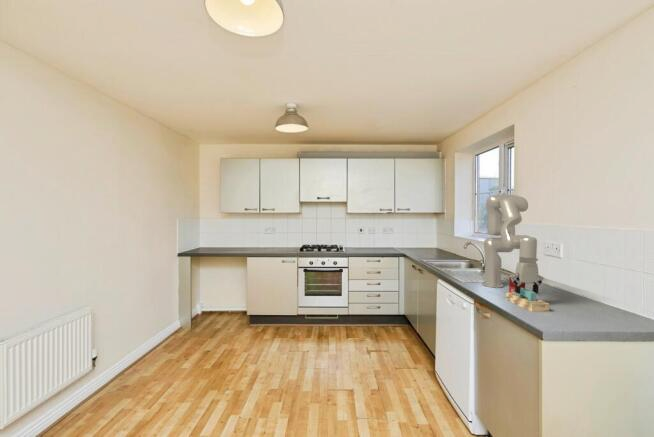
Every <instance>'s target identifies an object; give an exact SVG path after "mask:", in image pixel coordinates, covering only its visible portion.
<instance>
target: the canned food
mask: <svg viewBox="0 0 654 437" xmlns="http://www.w3.org/2000/svg"><path fill="white" fill-rule="evenodd" d="M514 275H515V274H510V275H509V280H508V281H509V282H508V283H509V287H508V289H509V290H508V291H509V292H508V293H516V292H515V285H514V283H513V282H512V280H511V277H512V276H514ZM515 281H516V280H515ZM520 286H521V288H524V289H526V283H521V284H520Z"/></svg>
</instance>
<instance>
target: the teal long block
mask: <svg viewBox="0 0 654 437" xmlns="http://www.w3.org/2000/svg"><path fill="white" fill-rule="evenodd" d="M517 296H518V297H527V298H528V301H536V299H537V293H535V292H533V290H529V289H527V288H525V289H524V288H521V293H520V294H518V293H517Z"/></svg>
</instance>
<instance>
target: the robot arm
mask: <svg viewBox="0 0 654 437" xmlns="http://www.w3.org/2000/svg"><path fill="white" fill-rule="evenodd" d="M485 208H486V210H487V230H486V231H487V234H488V235H490V236H491V237H487V238H485V239H484V242H483V248H484V276H483V277H482V279H483V280H484V281H482V282H481V285H482V286H484V287H487V288H494V289H496V288H497V289H500V288H503V287H504V283H502V257H501V256H500V255H499V253H511V252H513V251H514V250H519V257H518V258H519V259H518V260H519V261H518V262H517V264H516V268H515V273H514V274H513V275H514V276H512V277H511V280H512V282H513V283H514V285H515V292H516V293H518V294H520V293H521V286H520V284H521V283H525V284H526V283H527V284H529V283H531V284H532V283H533V284H532V292H535V293H536V295H537V294H539V289H540V288H539V287H540V286H541V284H542V283H543V281H544V276H542V275H540V274H539V268H538V267H539V266H538V263H537V262H538V261H539V259H538V258H537V252H538V249H537V248H538V240H537V238H536V237H533V236H529V235H521V234H516V227H515V226H517V225H519V224H520V223H522V221H523V218H522V215H521V212H522V213H523V212H526V211H527V210H528V209H529V202H528V201H527V199H526V198H525V197H523V196H519V195H517V194H492V195H489V196H488V197H486V201H485ZM503 219H504V220H503ZM492 236H493V237H492ZM494 236H496V237H494ZM497 236H498V237H497ZM499 236H500V237H499ZM515 280H516V281H515Z"/></svg>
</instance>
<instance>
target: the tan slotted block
mask: <svg viewBox="0 0 654 437" xmlns="http://www.w3.org/2000/svg"><path fill="white" fill-rule="evenodd" d="M505 300H506V301H508V302H509V303H512V304H514V305H517V306H519V307H521V308H522V309H525V310H526V311H529V312H531V313H542V312H543V313H544V312H545V313H548V312H550V303H548V302H546V301H544V300H541V299H540V298H536V301H528V298H527V297H518V296H517V293H509V292H506V293H505Z"/></svg>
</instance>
